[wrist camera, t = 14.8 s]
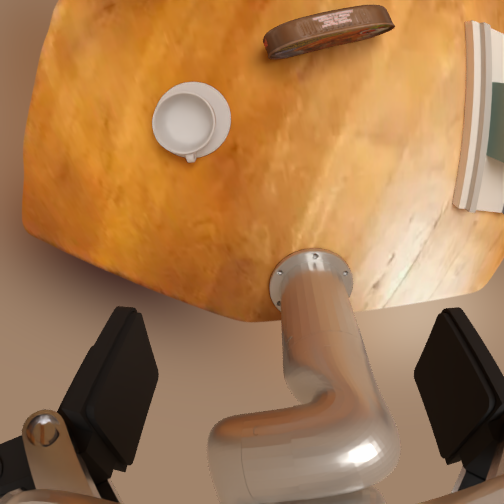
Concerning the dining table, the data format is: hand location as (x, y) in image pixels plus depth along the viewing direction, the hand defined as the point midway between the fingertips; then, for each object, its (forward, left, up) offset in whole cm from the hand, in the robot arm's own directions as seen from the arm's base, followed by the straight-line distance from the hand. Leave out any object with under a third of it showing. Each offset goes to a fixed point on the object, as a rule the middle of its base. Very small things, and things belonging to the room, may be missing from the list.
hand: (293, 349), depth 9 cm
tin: (+15, -6, -34) cm, 37 cm away
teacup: (+4, +10, -34) cm, 35 cm away
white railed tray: (+8, -33, -33) cm, 48 cm away
